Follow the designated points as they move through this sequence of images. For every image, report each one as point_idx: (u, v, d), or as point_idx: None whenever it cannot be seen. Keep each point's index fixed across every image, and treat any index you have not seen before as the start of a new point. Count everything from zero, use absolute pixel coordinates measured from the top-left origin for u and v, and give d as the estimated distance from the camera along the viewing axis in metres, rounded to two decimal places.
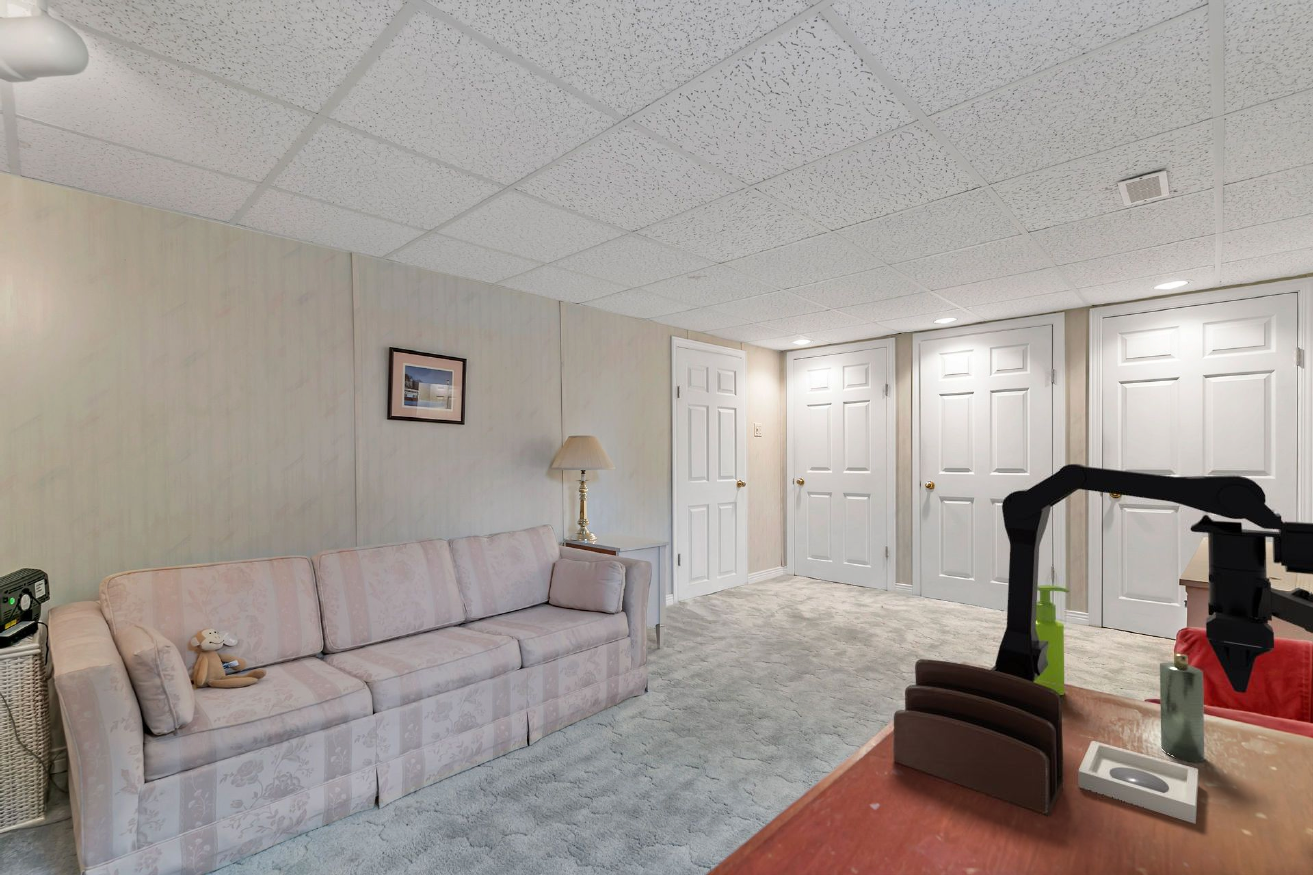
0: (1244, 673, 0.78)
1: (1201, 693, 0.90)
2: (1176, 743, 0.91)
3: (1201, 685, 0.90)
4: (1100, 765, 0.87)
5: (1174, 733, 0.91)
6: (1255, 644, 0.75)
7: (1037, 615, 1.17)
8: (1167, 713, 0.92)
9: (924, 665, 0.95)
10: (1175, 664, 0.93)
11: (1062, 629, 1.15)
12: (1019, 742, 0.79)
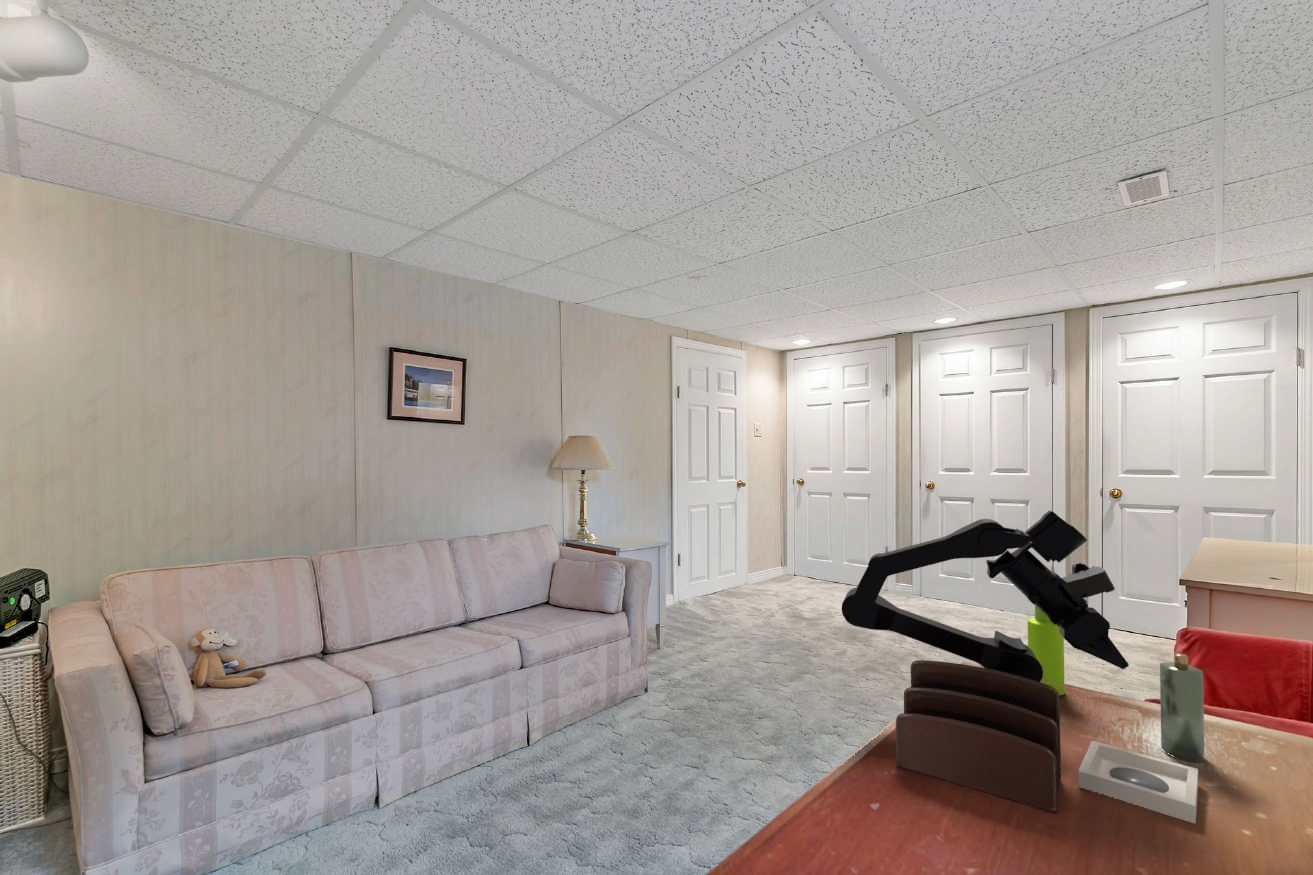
0: (1114, 652, 0.91)
1: (1201, 693, 0.90)
2: (1176, 743, 0.91)
3: (1201, 685, 0.90)
4: (1100, 765, 0.87)
5: (1174, 733, 0.91)
6: (1100, 629, 0.89)
7: (1037, 615, 1.17)
8: (1167, 713, 0.92)
9: (920, 666, 0.95)
10: (1175, 664, 0.93)
11: None
12: (1026, 741, 0.79)
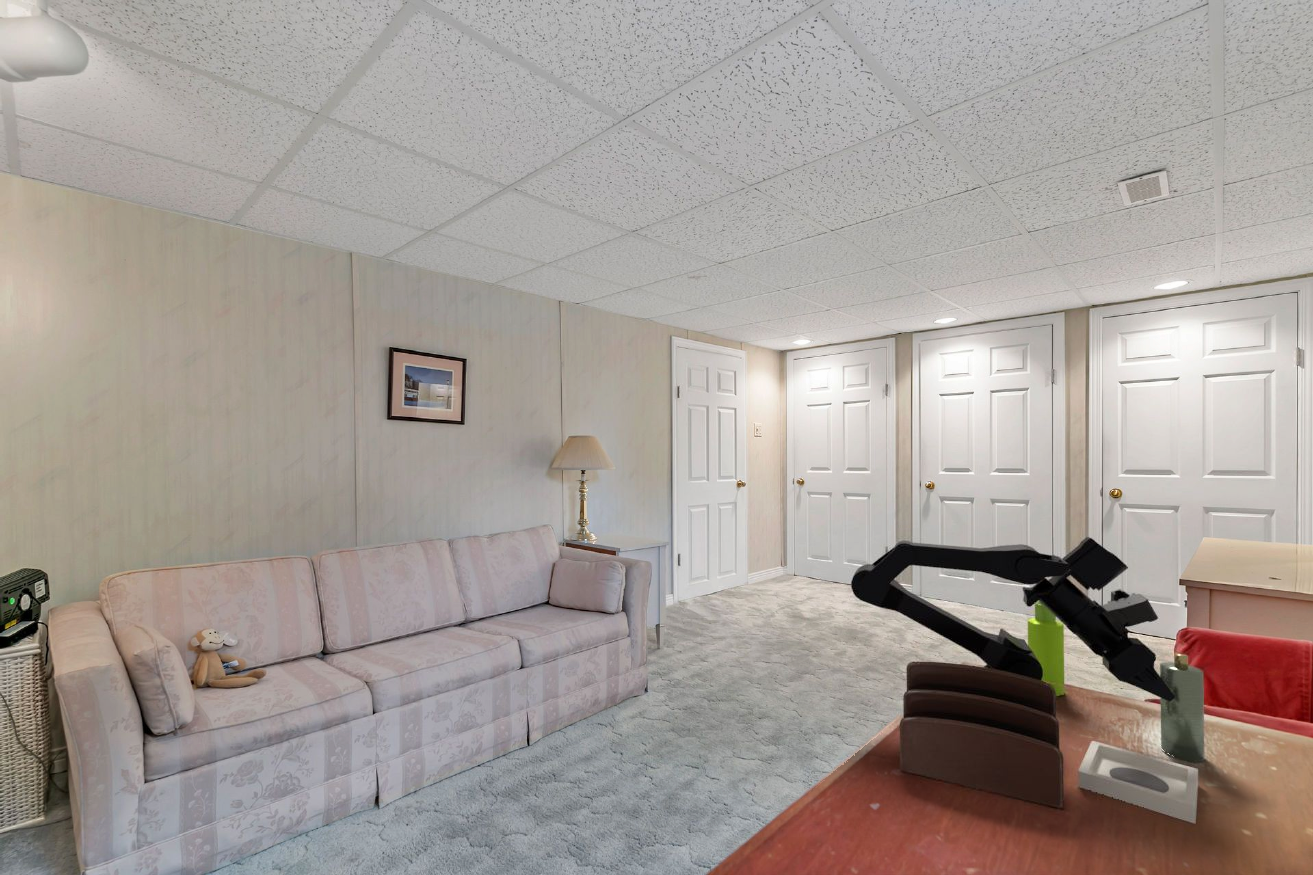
0: (1160, 684, 0.89)
1: (1201, 693, 0.90)
2: (1176, 743, 0.91)
3: (1201, 685, 0.90)
4: (1100, 765, 0.87)
5: (1174, 733, 0.91)
6: (1146, 661, 0.87)
7: (1037, 615, 1.17)
8: (1167, 713, 0.92)
9: (916, 667, 0.94)
10: (1175, 664, 0.93)
11: (1062, 629, 1.15)
12: (1033, 739, 0.80)
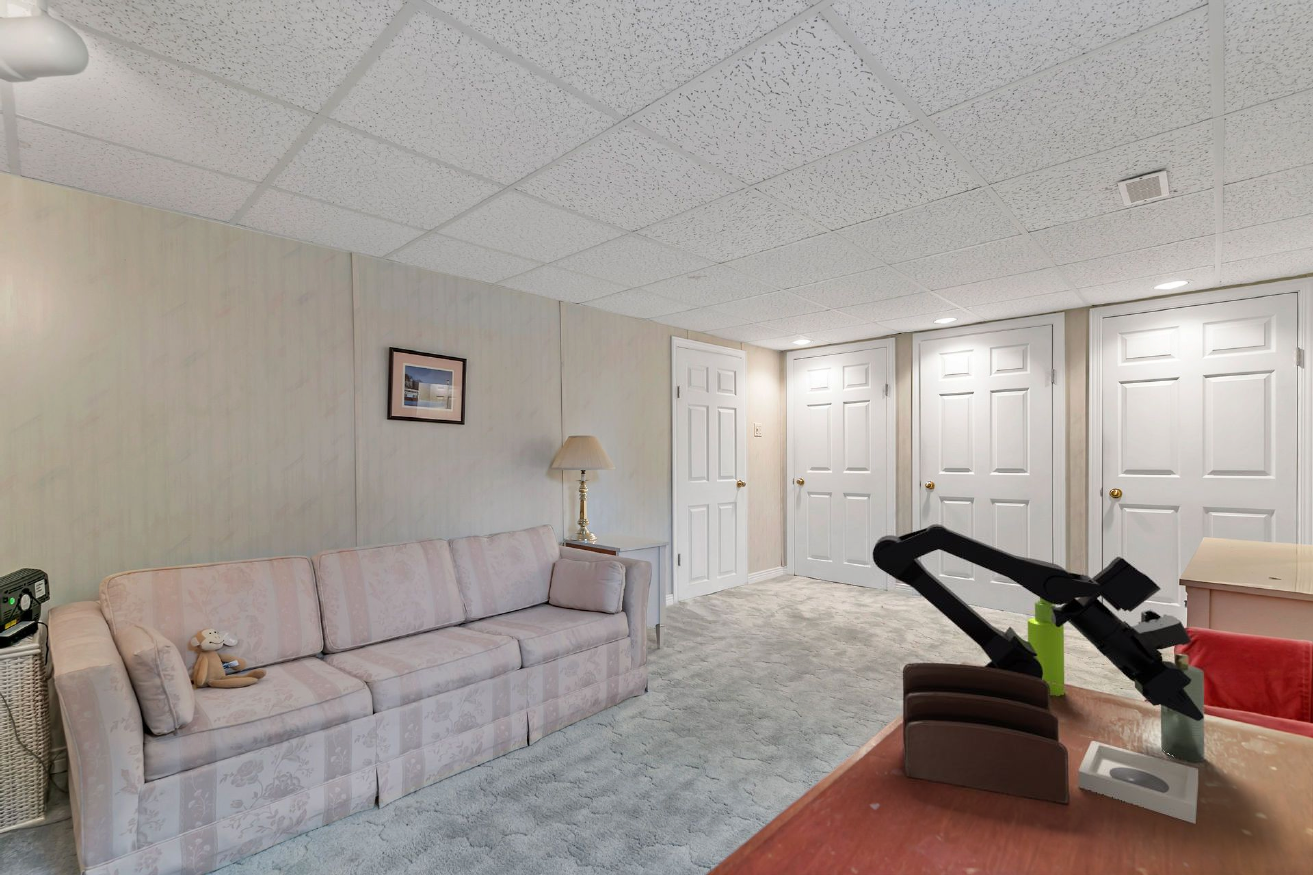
0: (1189, 704, 0.89)
1: (1201, 693, 0.90)
2: (1176, 743, 0.91)
3: (1202, 685, 0.90)
4: (1100, 765, 0.87)
5: (1174, 733, 0.91)
6: (1181, 686, 0.85)
7: (1037, 615, 1.17)
8: (1167, 713, 0.92)
9: (913, 669, 0.94)
10: (1176, 664, 0.93)
11: (1062, 629, 1.15)
12: (1038, 737, 0.80)
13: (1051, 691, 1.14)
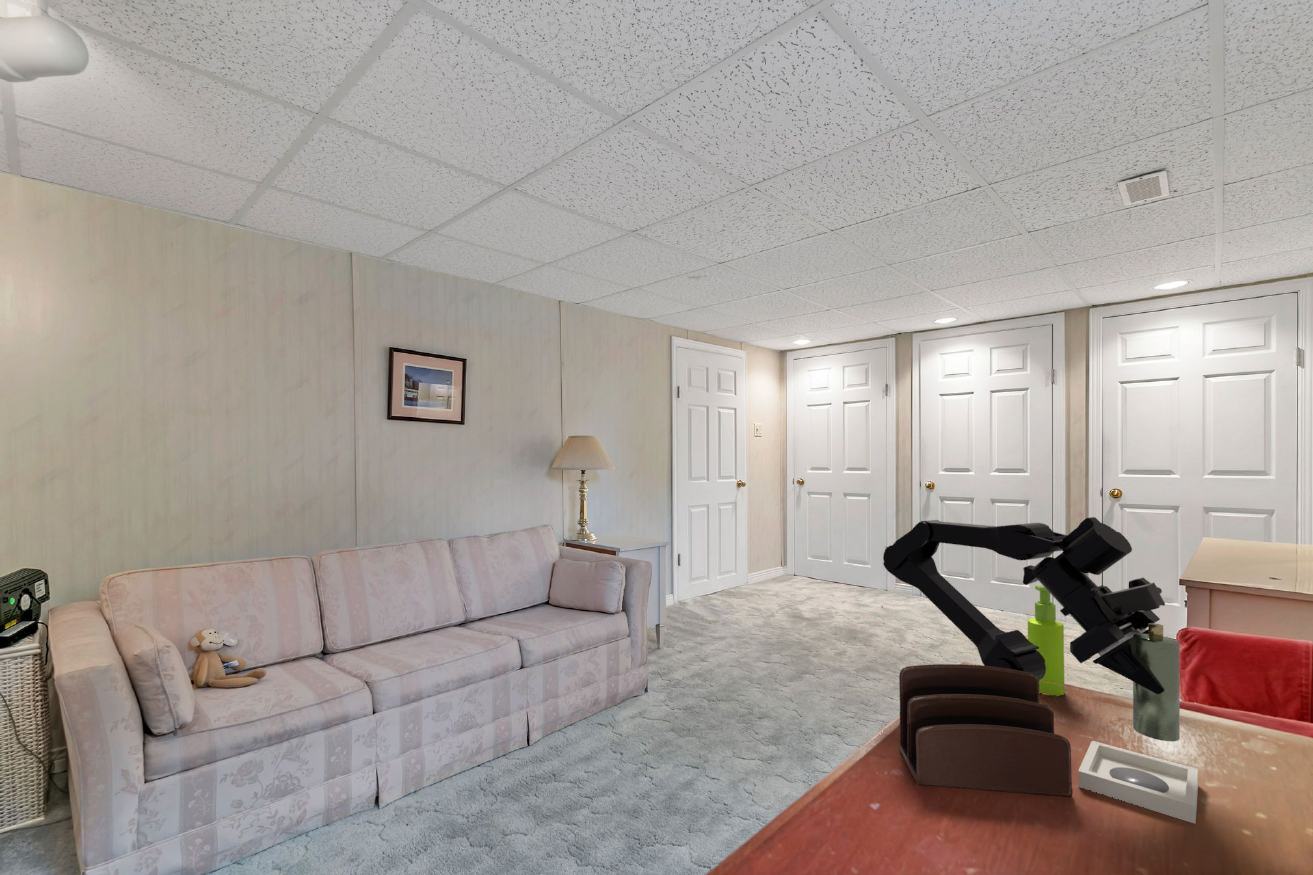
0: (1144, 673, 0.83)
1: (1169, 666, 0.82)
2: (1138, 716, 0.84)
3: (1169, 658, 0.82)
4: (1100, 765, 0.87)
5: (1137, 705, 0.85)
6: (1104, 645, 0.82)
7: (1037, 615, 1.17)
8: (1133, 684, 0.85)
9: (910, 672, 0.92)
10: (1148, 634, 0.85)
11: (1062, 629, 1.15)
12: (1044, 733, 0.81)
13: (1051, 691, 1.14)
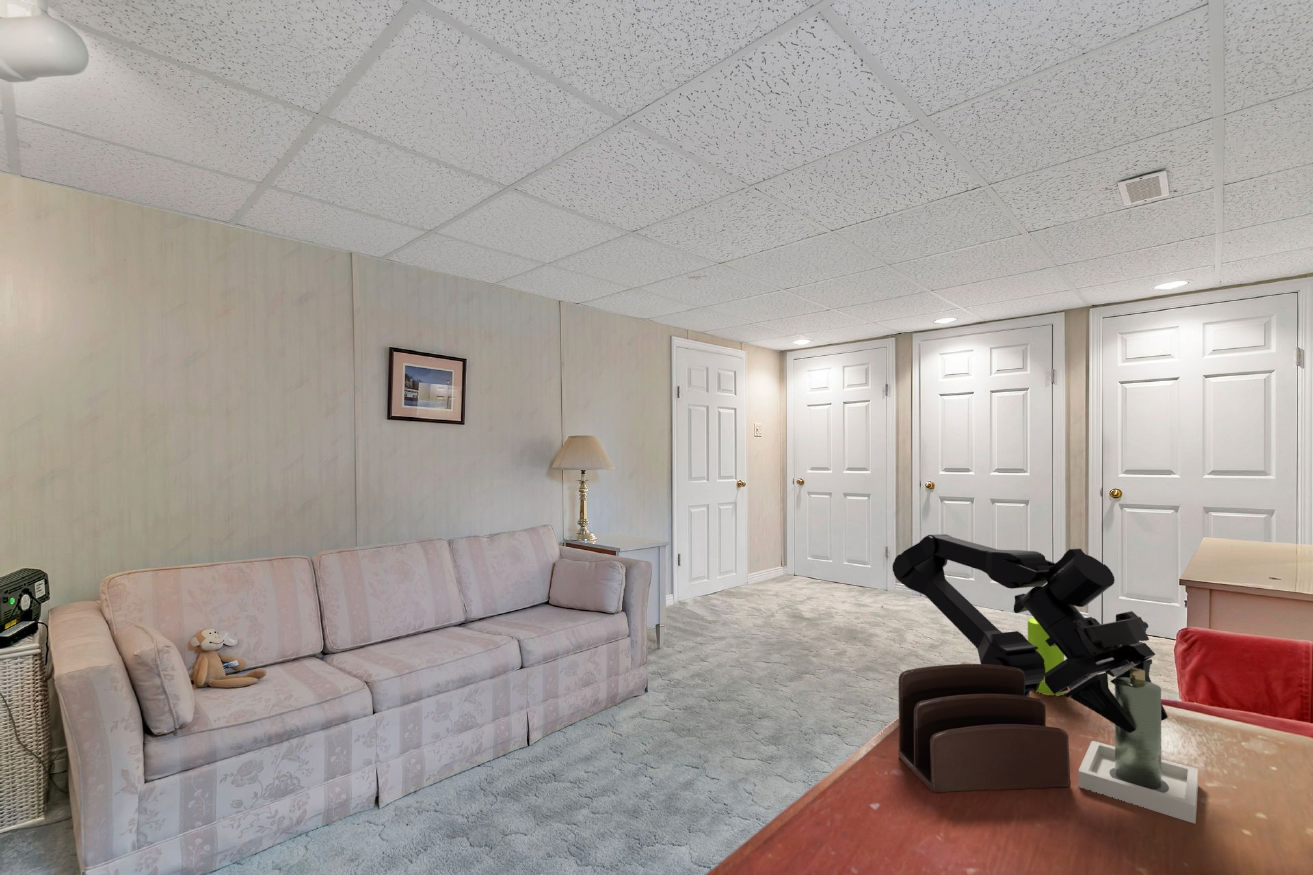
0: (1114, 710, 0.81)
1: (1147, 713, 0.81)
2: (1118, 761, 0.84)
3: (1147, 704, 0.81)
4: (1100, 765, 0.87)
5: (1117, 750, 0.84)
6: (1075, 678, 0.82)
7: None
8: (1115, 728, 0.85)
9: (910, 676, 0.91)
10: (1130, 678, 0.84)
11: None
12: (1045, 727, 0.83)
13: (1051, 691, 1.14)
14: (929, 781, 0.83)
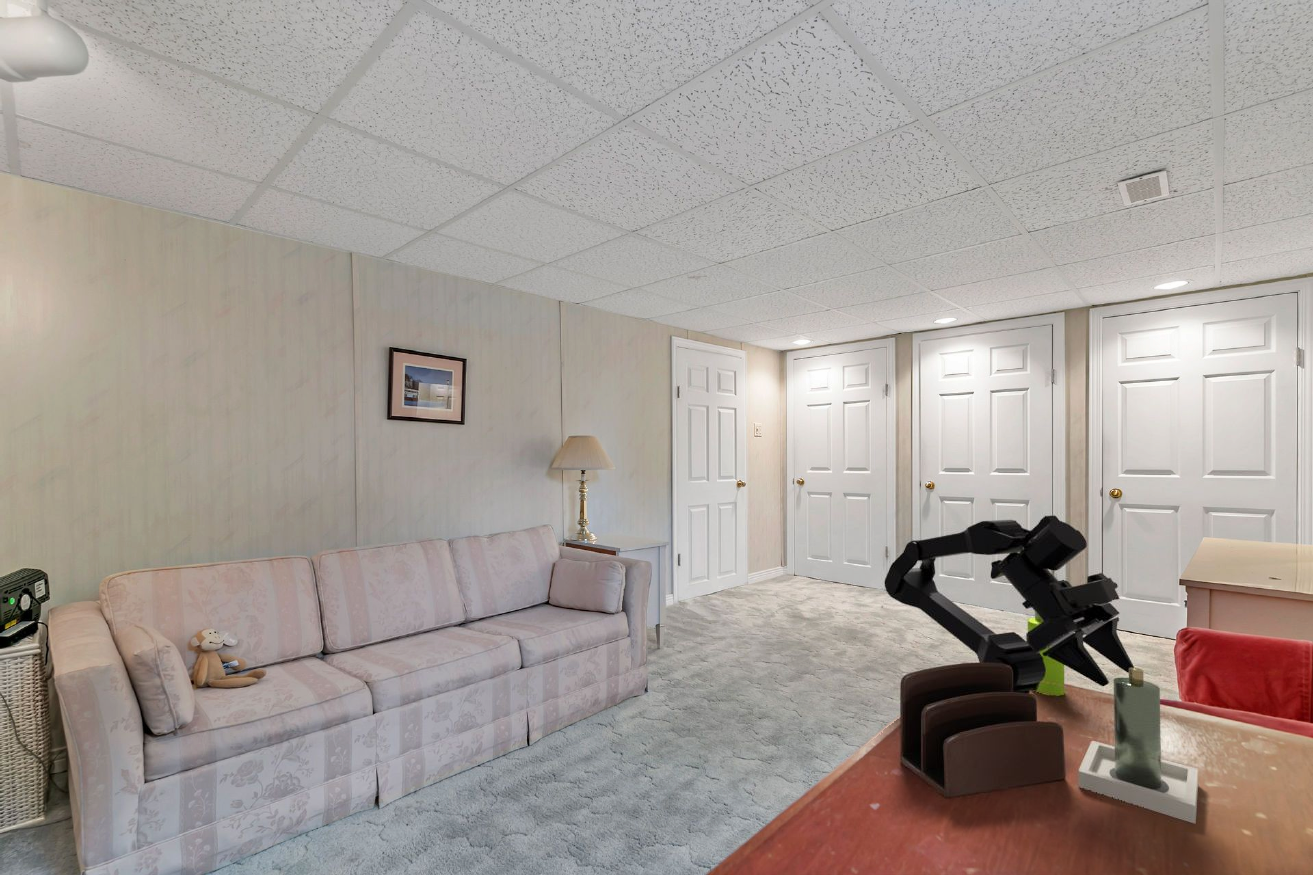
0: (1089, 666, 0.86)
1: (1146, 713, 0.81)
2: (1118, 761, 0.84)
3: (1146, 704, 0.81)
4: (1100, 765, 0.87)
5: (1117, 750, 0.84)
6: (1056, 636, 0.86)
7: (1037, 615, 1.17)
8: (1114, 728, 0.85)
9: (911, 679, 0.89)
10: (1128, 678, 0.84)
11: None
12: (1044, 722, 0.85)
13: (1051, 691, 1.14)
14: (942, 786, 0.81)
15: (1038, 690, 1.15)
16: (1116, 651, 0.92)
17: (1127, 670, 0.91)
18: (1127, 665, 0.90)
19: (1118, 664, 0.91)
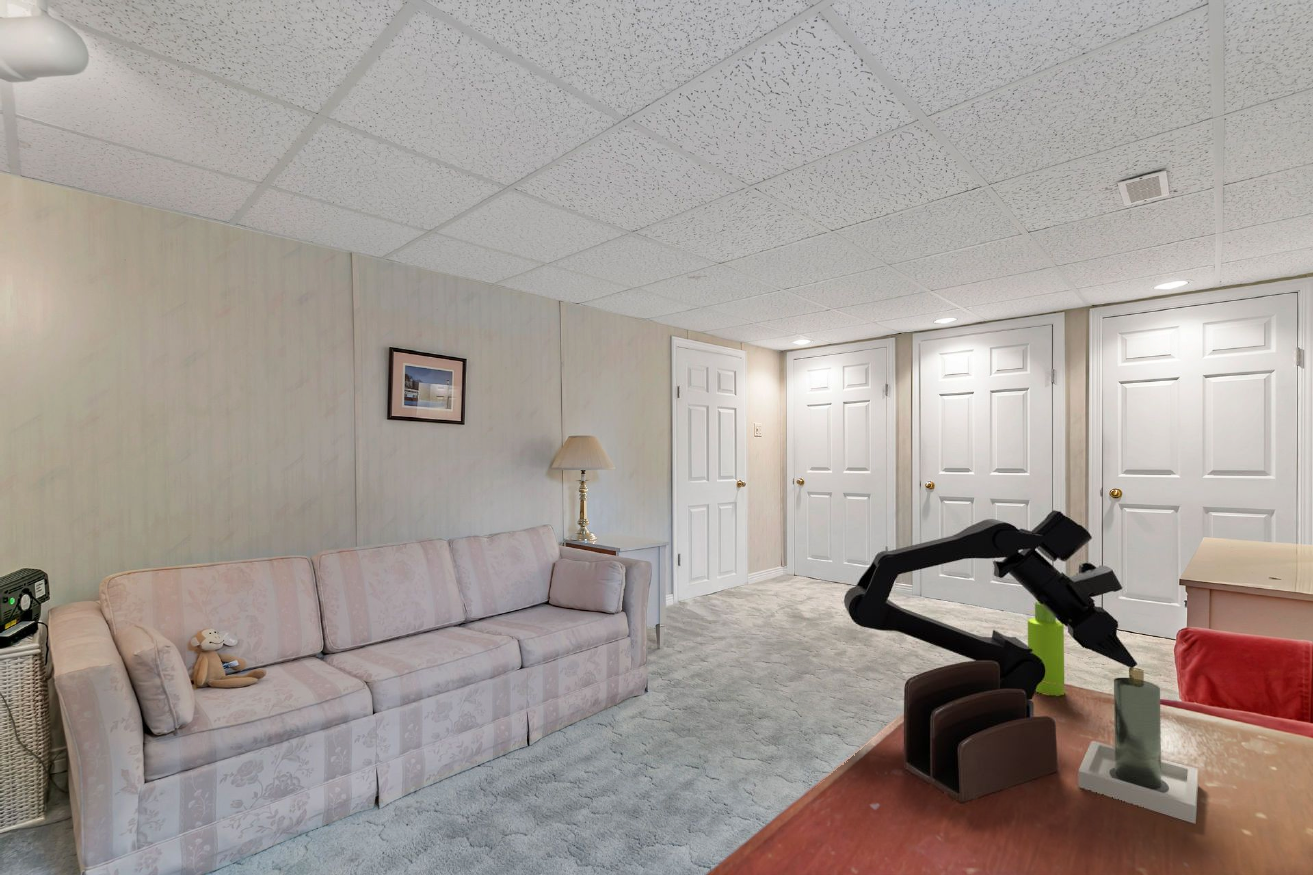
0: (1123, 651, 0.92)
1: (1146, 713, 0.81)
2: (1118, 761, 0.84)
3: (1146, 704, 0.81)
4: (1100, 765, 0.87)
5: (1117, 750, 0.84)
6: (1108, 628, 0.89)
7: (1037, 615, 1.17)
8: None
9: (915, 683, 0.88)
10: (1129, 678, 0.84)
11: (1062, 629, 1.15)
12: (1040, 717, 0.86)
13: (1051, 691, 1.14)
14: (955, 791, 0.80)
15: (1038, 690, 1.15)
16: None
17: None
18: None
19: None
